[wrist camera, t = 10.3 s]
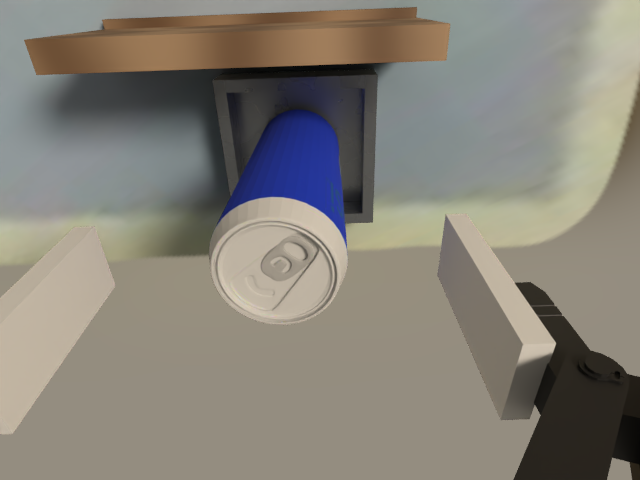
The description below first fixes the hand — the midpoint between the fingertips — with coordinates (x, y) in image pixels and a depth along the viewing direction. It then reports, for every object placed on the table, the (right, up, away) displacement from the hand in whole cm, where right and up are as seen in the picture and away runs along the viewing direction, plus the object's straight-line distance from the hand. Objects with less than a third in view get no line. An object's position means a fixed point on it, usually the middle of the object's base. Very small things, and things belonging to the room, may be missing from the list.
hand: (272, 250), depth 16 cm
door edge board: (-2, +13, +9) cm, 15 cm away
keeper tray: (+1, +7, +12) cm, 14 cm away
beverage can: (0, +7, +12) cm, 14 cm away
